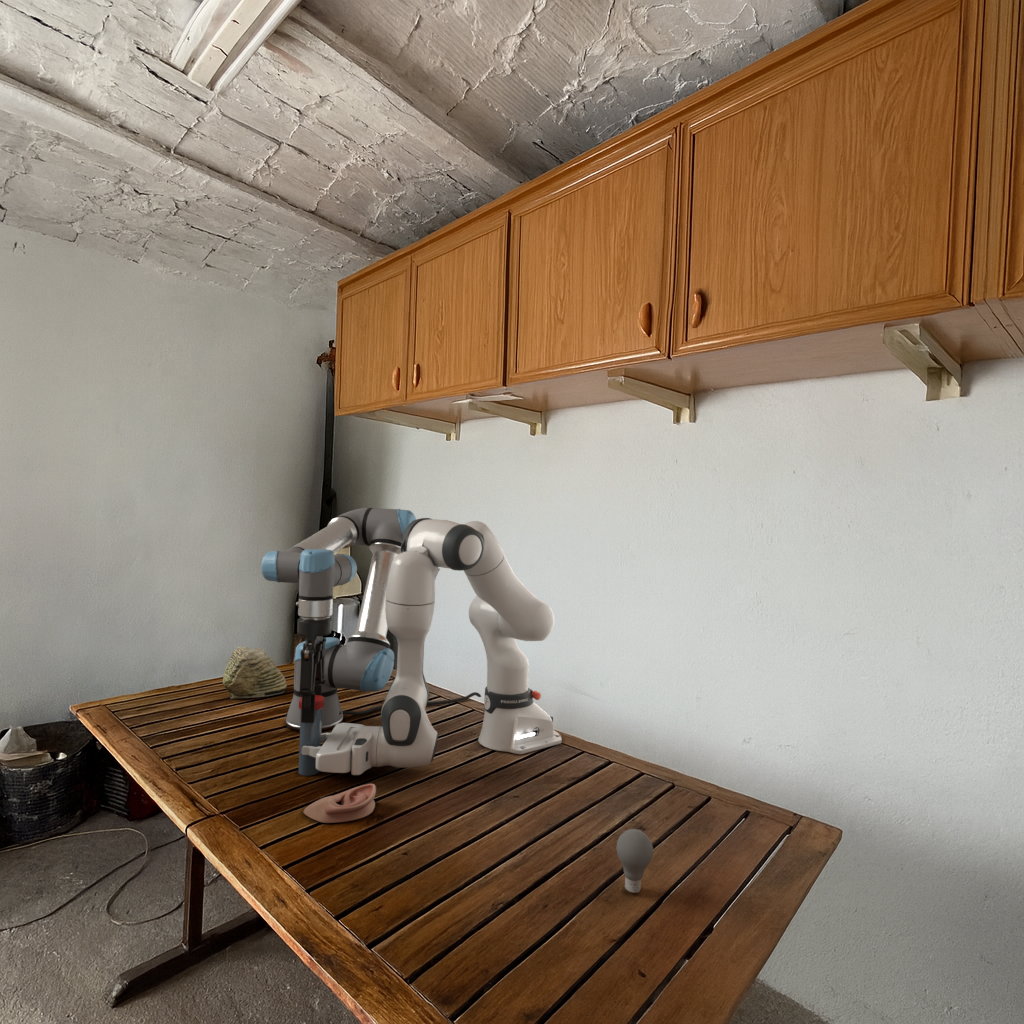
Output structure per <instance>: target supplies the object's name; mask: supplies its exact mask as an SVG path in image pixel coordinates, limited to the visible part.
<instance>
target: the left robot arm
mask: <svg viewBox="0 0 1024 1024" xmlns="http://www.w3.org/2000/svg"><path fill="white" fill-rule="evenodd" d="M416 519H417V518H416V515H415V513H414V512H413V511H411V510H409V509H401V508H376V507H361V508H355V509H353V510H350V511H347V512H344V513H342V514H340V515H339V514H338V516H336V517H334V518H332V519H330V520H329V521H328V523H327V526H326V527H324V528H322V529H320V530H319V531H317V532H315V533H314V534H312V535H311V536H308V537H307V538H305V539H303V540H301V541H300V542H299V543H298V542H297V543H296V544H295V545H294V546H291V547H290V548H288V549H286V550H283V551H280V550H274V551H273V550H272V551H268V552H266V553H265V554H264V555H263V557H262V561H261V563H260V564H261V566H260V568H261V575H262V577H263V579H264V580H266V581H269V582H277V583H278V584H279V583H284V584H285V583H287V584H298V601H296V603H295V605H296V606H297V607H298V609H297V615H298V616H299V617H298V618H297V627H296V630H297V631H296V632H297V635H298V636H301V637H305V640H304V641H302V642H299V643H298V644H297V645H296V647H295V652H294V653H295V654H294V659H293V661H294V672H293V695H292V696H293V697H292V699H291V702H290V704H289V708H288V710H287V712H286V713H285V716H284V718H285V726H286V728H287V729H289V730H291V731H294V732H295V731H296V732H300V714H301V723H314V714H315V695H320V696H323V697H324V700H325V702H324V707H323V708H322V729H321V732H325V731H329V730H333V729H334V727H335V726H336V724H338V723H344V715H345V716H347V715H351V716H363V715H367V714H369V713H372V712H375V711H379V710H382V706H383V705H377V706H374V707H371V708H368V709H365V710H360V711H354V710H343V709H342V706H341V702H340V699H339V695H338V689H342V690H351V691H353V690H354V691H362V692H365V693H366V692H379V691H381V690H382V689H384V688H385V686H386V685H387V684H388V683H389V681H390V678H391V677H392V676H391V675H392V673H393V671H394V666H395V652H394V651H393V650H392V649H391V643H390V641H389V639H387V634H388V631H389V629H388V628H387V622H386V613H385V602H386V590H387V582H388V577H389V572H390V568H391V564H392V561H393V559H394V558H395V557H396V556H397V555H398V554H400V553H401V544H402V538H403V534H404V532H405V529H406V528H407V526H408V525H409V524H410V523H411V522H412V521H414V520H416ZM352 546H367V547H368V550H369V551H370V552H371V554H372V557H371V561H370V566H369V570H368V575H367V578H366V583H365V587H364V593H363V596H362V601H361V606H360V610H359V615H358V618H357V624H356V628H355V632H354V633H353V634H351V635H350V636H348V638H347V643H346V644H340V643H341V641H340V639H339V638H338V637H334V636H331V637H330V636H329V635H330V634H332V630H333V629H332V628H333V627H332V626H333V619H332V617H331V616H333V609H334V608H333V606H334V603H333V602H334V588H335V587H339V586H344V585H346V584H348V583H350V582H351V581H353V580H354V578H356V575H357V572H358V566H357V562H356V560H355V559H354V558H353V557H352V556H351V555H349V554H347V553H338V551H340V550H341V549H348V548H350V547H352ZM325 636H329V637H325ZM474 696H476V697H477V698H481V697H482V695H481V693H479V692H476V691H474V692H471V693H469V694H467V695H466V696H462V697H457V698H452V699H446V700H445V699H444V700H435V701H428V703H427V705H426V706H437V705H446V704H452V703H457V702H458V703H459V702H462V701H466V700H469V699H470V698H472V697H474ZM301 697H302V713H301V709H300V708H299V699H300V698H301Z"/></svg>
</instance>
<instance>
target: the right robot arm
mask: <svg viewBox="0 0 1024 1024" xmlns="http://www.w3.org/2000/svg"><path fill="white" fill-rule="evenodd" d="M441 568H443V569H450V570H452V571H461V572H462V571H463V573H464V574H465V576H466V578H467V580H468V583H469V584H470V586H471V588H472V590H473V592H474V593H475V595H476V596H474V598H473V599H472V601H471V602H470V604H469V608H468V619H469V623H470V624H471V625H472V626H473V628H474V629H475V630H476V631H477V633H478V634H479V637H480V639H481V642H482V644H483V648H484V651H485V656H486V686H485V688H484V699H483V707H484V715H483V721H482V725H481V730H480V733H479V736H478V739H477V741H478V743H479V745H481V746H483V747H485V748H487V749H489V750H493V751H499V752H506V753H512V754H515V755H524V754H528V753H532V752H535V751H539V750H542V749H546V748H551V747H554V746H557V745H560V744H562V742H563V739H562V736H561V734H560V733H559V732H558V731H557V730H555V729H554V717H553V716H551V715H550V714H549V713H548V712H546V711H545V710H544V709H543V708H541V707H540V706H539V705H538V704H537V703H536V702H534V700H536V701H539V700H540V699H541V698H542V694H541V692H539V691H537V690H533V689H532V688H529V675H530V662H529V658H528V656H527V655H526V653H524V652H523V650H521V649H520V647H519V644H518V643H517V640H519V641H522V642H542V641H545V640H546V639H547V638H548V637H550V635H551V634H552V632H553V630H554V627H555V614H554V611H553V609H552V607H551V606H550V605H548V603H545V602H543V601H542V600H541V599H540V598H538V597H537V596H535V595H534V594H533V593H532V592H531V591H530V590H529V588H527V587H526V586H525V584H523V582H522V581H521V580H520V579H519V578H518V576H517V575H516V574H515V572H514V570H513V568H512V566H511V565H510V563H509V561H508V558H507V556H506V555H505V551H504V550H503V548H502V546H501V544H500V542H499V540H498V539H497V537H496V536H495V534H494V533H493V531H492V530H491V529H490V528H489V526H488V525H487V524H486V523H484V522H482V521H478V520H471V521H468V522H465V523H459V522H455V521H452V520H448V519H438V518H437V519H436V518H435V519H433V518H430V517H422V518H416V520H414V521H412V522H411V523H410V524H409V525H408V526H407V528H406V529H405V532H404V534H403V538H402V544H401V553H400V554H398V555H397V556H396V557H395V558H394V559H393V561H392V564H391V568H390V572H389V577H388V582H387V590H386V602H385V613H386V622H387V628H388V632H390V633H391V634H392V635H393V636H395V637H396V638H395V639H396V641H397V660H396V674H395V677H394V678H393V680H392V682H391V684H390V686H389V688H388V690H387V691H388V692H387V695H386V697H385V699H384V702H383V703H382V705H381V706H382V709H380V710H381V711H380V717H381V725H382V726H381V725H378V726H377V725H375V726H374V725H364V724H361V723H351V722H342V723H338V724H336V726H335V727H334V728H333V729H331V730H332V731H331V732H322V733H321V746H318V747H313V746H311V745H304V746H303V747H302V750H301V753H302V755H310V756H312V757H315V758H316V769H317V770H319V772H322V773H334V774H347V773H351V775H352V776H361V775H363V773H365V772H366V771H368V770H369V769H372V768H382V767H385V766H388V767H389V766H390V767H393V768H398V769H400V768H401V769H413V768H422V767H426V766H429V765H431V763H432V762H433V761H434V758H435V756H436V755H435V754H436V750H437V745H438V741H439V733H438V731H437V730H435V728H434V726H433V725H432V723H431V721H430V719H429V717H428V714H427V711H426V707H427V706H428V705H427V703H428V702H430V701H429V700H430V689H429V685H428V683H427V681H426V678H425V675H424V660H425V659H424V657H425V642H426V638H427V636H428V634H429V632H430V629H431V626H432V622H433V617H434V613H435V604H436V603H435V602H436V579H437V577H438V574H439V572H440V571H441Z"/></svg>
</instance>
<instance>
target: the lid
mask: <svg viewBox="0 0 1024 1024" xmlns="http://www.w3.org/2000/svg"><path fill="white" fill-rule="evenodd" d="M324 702H325V700H324V697H323V696H320V695H315V710H318V709H321V708H323V707H324ZM299 708H300V709H302V697H301V698H300V699H299Z"/></svg>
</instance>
